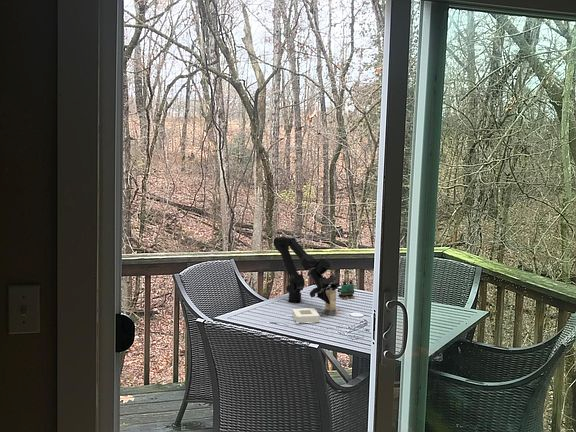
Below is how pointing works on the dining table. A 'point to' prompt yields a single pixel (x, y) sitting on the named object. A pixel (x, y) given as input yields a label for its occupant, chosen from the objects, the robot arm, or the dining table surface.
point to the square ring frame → (305, 315)
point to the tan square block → (330, 307)
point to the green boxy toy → (347, 290)
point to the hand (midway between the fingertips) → (332, 303)
